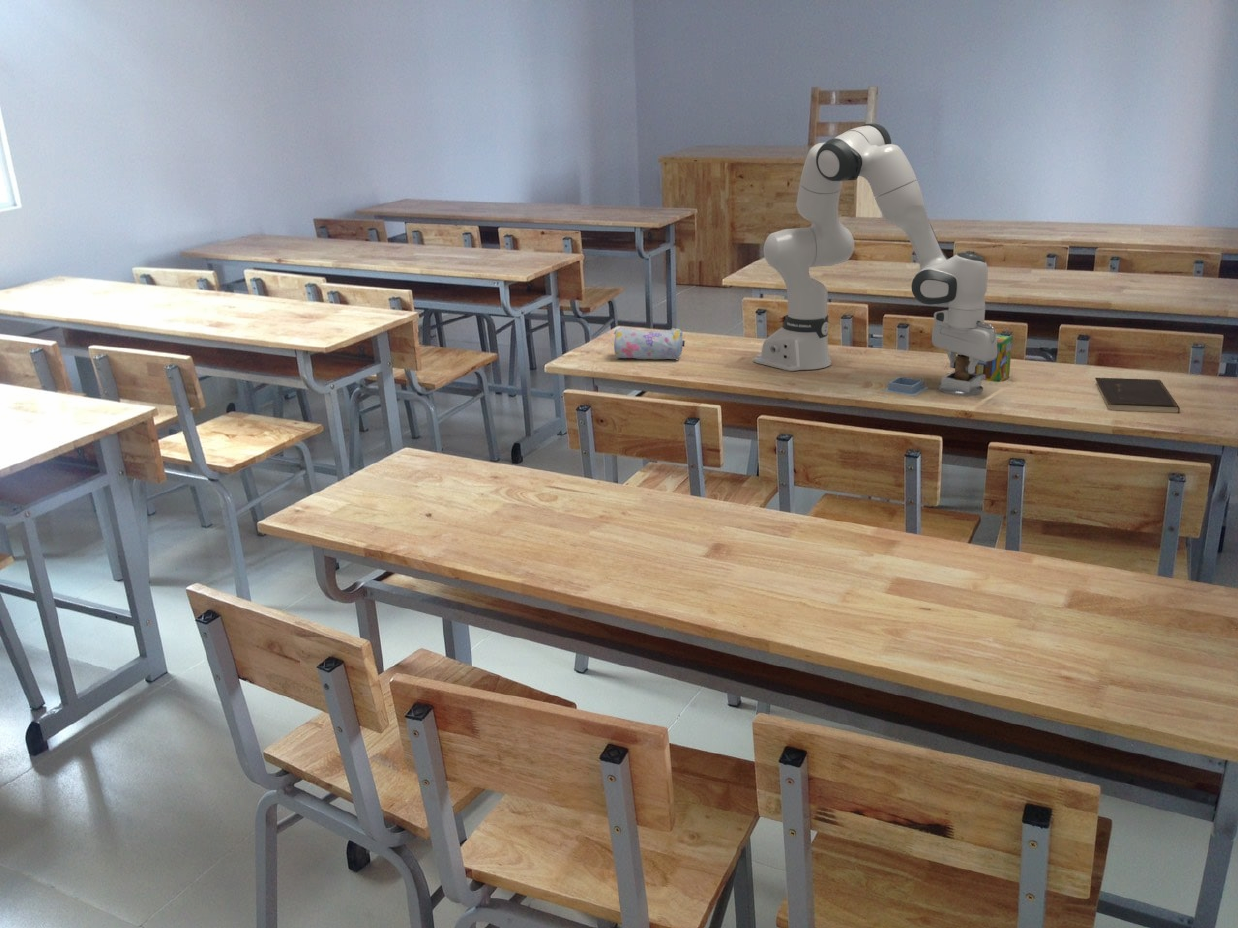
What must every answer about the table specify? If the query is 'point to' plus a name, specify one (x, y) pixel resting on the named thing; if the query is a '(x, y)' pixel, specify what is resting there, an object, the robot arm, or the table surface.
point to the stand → (906, 386)
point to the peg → (961, 367)
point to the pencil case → (648, 344)
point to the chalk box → (997, 361)
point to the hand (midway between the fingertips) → (961, 370)
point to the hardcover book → (1136, 395)
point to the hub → (961, 385)
